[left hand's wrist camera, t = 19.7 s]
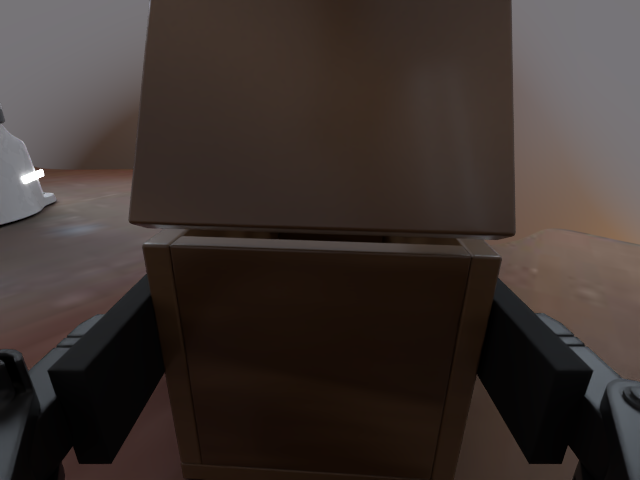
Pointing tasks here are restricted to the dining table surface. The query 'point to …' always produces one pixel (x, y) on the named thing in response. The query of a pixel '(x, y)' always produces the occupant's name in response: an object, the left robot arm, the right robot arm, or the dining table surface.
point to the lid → (327, 118)
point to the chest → (319, 351)
